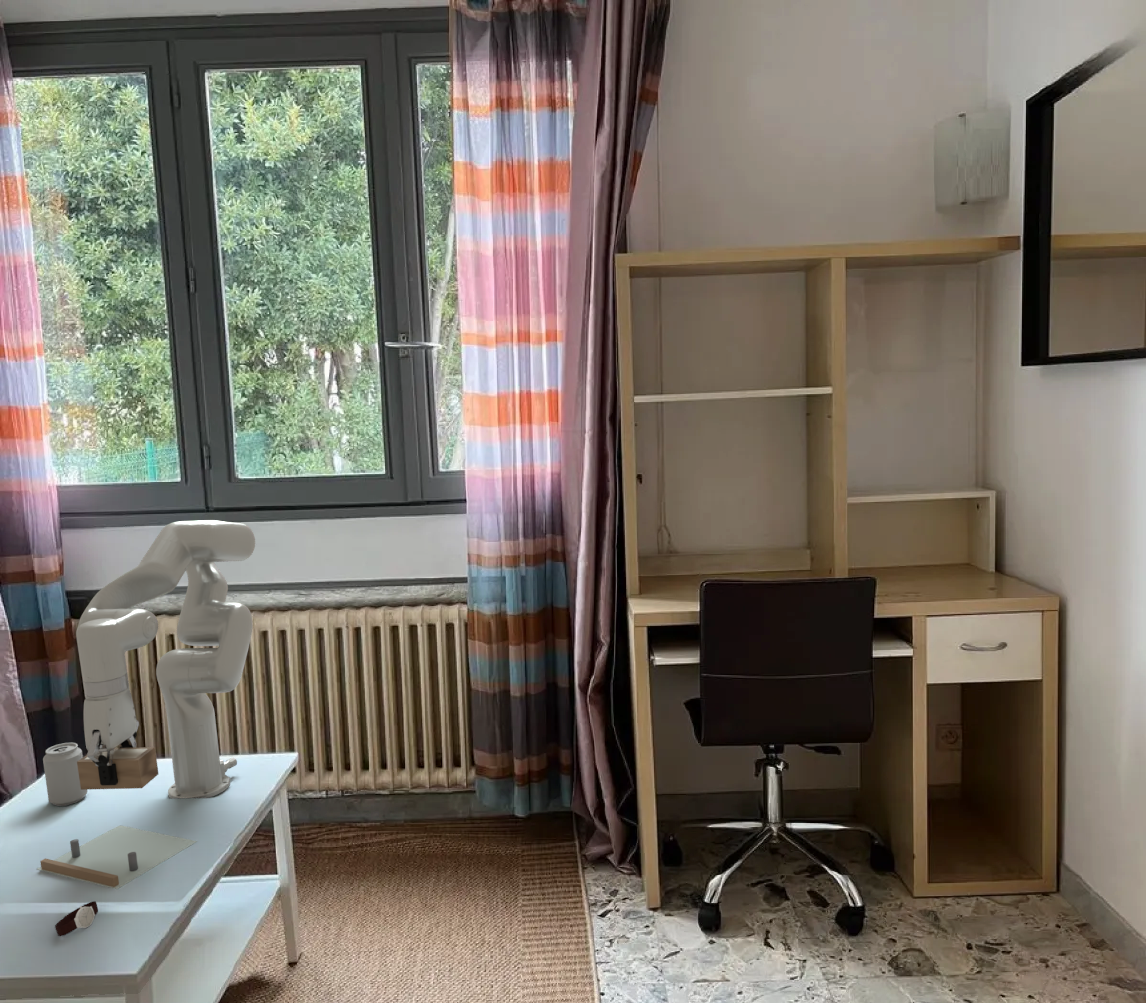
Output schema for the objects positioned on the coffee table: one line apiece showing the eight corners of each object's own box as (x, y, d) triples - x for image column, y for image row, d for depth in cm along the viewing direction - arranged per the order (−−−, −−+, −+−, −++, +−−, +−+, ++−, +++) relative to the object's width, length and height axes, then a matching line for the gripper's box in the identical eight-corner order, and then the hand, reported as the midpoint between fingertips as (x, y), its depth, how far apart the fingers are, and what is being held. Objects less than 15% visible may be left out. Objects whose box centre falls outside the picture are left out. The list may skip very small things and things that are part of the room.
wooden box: (99, 775, 184) (95, 748, 184) (158, 774, 183) (154, 746, 182) (80, 789, 178) (76, 761, 178) (142, 788, 177) (138, 759, 177)
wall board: (120, 831, 191) (117, 811, 190) (197, 847, 182) (195, 826, 181) (37, 875, 175) (34, 853, 174) (117, 895, 166) (114, 872, 165)
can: (80, 789, 213) (73, 738, 211) (93, 798, 207) (86, 745, 206) (44, 801, 207) (36, 748, 206) (55, 811, 202) (48, 756, 201)
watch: (71, 941, 153) (68, 920, 152) (47, 938, 154) (44, 917, 153) (106, 914, 160) (104, 894, 160) (83, 912, 161) (80, 892, 161)
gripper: (113, 671, 187) (125, 758, 190) (59, 702, 170) (73, 798, 173) (149, 669, 186) (161, 757, 189) (99, 701, 169) (112, 797, 172)
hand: (119, 775), depth 181 cm, fingers closed on wooden box, 6 cm apart
